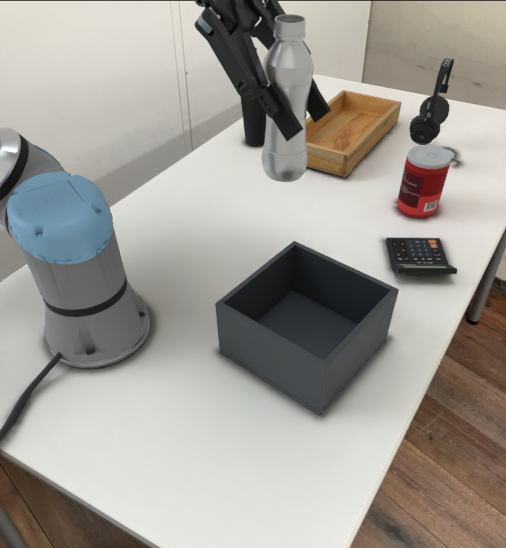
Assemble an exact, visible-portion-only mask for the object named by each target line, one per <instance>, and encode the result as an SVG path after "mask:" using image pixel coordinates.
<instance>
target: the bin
mask: <svg viewBox="0 0 506 548" xmlns="http://www.w3.org/2000/svg"><path fill="white" fill-rule="evenodd" d="M399 292H400V289H399V288H398V287H395V286H393V285H391V284H389V283H387V282H385V281H383V280H380V279H378V278H376V277H373V276H372V275H369V274H367V273H365V272H362V271H361V270H359V269H356V268H354V267H352V266H350V265H348V264H345V263H344V262H341V261H339V260H337V259H335V258H333V257H330V256H328V255H326V254H324V253H322V252H320V251H317V250H315V249H312V248H311V247H309V246H306V245H304V244H302V243H300V242H298V241H296V240H293V241H292V242H290V243H289V244H288V245H286V246H285V247H284V248H283V249H282V250H280V251H279V252H278V253H277V254H275V255H274V256H273V257H272V258H270V259H269V260H268V261H267V262H265V263H264V264H263V265H261V266H260V267H259V268H257V269H256V270H255V271H254V272H253V273H251V274H250V275H249V276H247V277H246V278H245V279H244V280H243V281H241V282H240V283H239V284H237V286H235V287H234V288H232V289H231V290H230V291H228V293H226V294H225V295H224V296H222V297H221V298H219V300H217V301H216V302H215V303H214V306H215V307H214V308H215V318H216V328H217V335H218V336H217V337H218V338H217V339H218V348H219V353H220V354H222V355H223V356H225V357H227V358H228V359H230V360H231V361H233V362H235V363H236V364H237V365H239V366H241V367H243V369H245V370H247V371H248V372H251V373H252V374H253V375H255V376H257V377H258V378H260V379H261V380H263V381H265V382H266V383H267V384H269V385H271V386H272V387H274V388H276V389H277V390H279V391H280V392H282V393H284V394H285V395H287V397H289V398H290V399H292V400H295V401H296V402H298V403H299V404H301V405H302V406H304V407H306V408H307V409H309V410H310V411H312V412H313V413H315V414H316V415H318V416H320V415H321V414H322V413H323V412H324V410H326V408H327V407H328V406H329V405H330V404H331V402H333V400H335V398H336V397H337V396H338V394H340V392H341V391H342V390H343V389H344V388H345V387H346V386H347V384H348V383H349V382H350V381H352V379H353V378H354V376H355V375H357V373H358V372H359V371H360V369H361V368H362V367H363V366H364V365H365V364H366V363H367V361H368V360H369V359H370V358H371V357H372V356H373V355H374V353H375V352H376V351H377V350H378V349H379V348H380V346H382V344H383V343H384V342H385V341H386V340H387V338H388V333H389V330H390V326H391V323H392V318H393V316H394V312H395V307H396V302H397V298H398V295H399Z"/></svg>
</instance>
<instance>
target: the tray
mask: <svg viewBox="0 0 506 548" xmlns="http://www.w3.org/2000/svg"><path fill="white" fill-rule="evenodd" d="M327 104H328V106H329V107H330V109H331V111H330V112H329V113H327V114H326V115H325V116H324V117H322V118H321V119H320V120H318V121H317V122H316V123H314V121H313V119H312V118H311V116H310V115H309V117H307V118H306V145H307V152H308V163H307V167H306V168H309V169H313V170H317V171H321V172H325V173H329V174H331V175H336V176H339V177H343V178H346V177H348V175H349V174H350V173H351V172H352V171H353V170H354V169H355V168H356V166H357V165H359V163H361V161H362V160H363V159H364V158H365V157H366V156H367V155H368V154H369V153H370V152H371V150H373V149H374V148H375V146H377V144H378V143H380V141H381V140H382V139H383V138H384V137H385V136H386V135H387V134H388V133H389V132H390V131H391V130H392V129H393V127H395V126H396V125H397V124H398V121H399V118H400V113H401V106H402V101H398V100H393V99H390V98H384V97H380V96H375V95H369V94H364V93H360V92H356V91H351V90H345V89H342V90H340V91H339V92H338V93H337V94H336V95H335V96H333V97H332V98H331V99H330V100H329V101H327Z"/></svg>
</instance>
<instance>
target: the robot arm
mask: <svg viewBox="0 0 506 548" xmlns="http://www.w3.org/2000/svg"><path fill="white" fill-rule="evenodd" d="M193 1H194V3H195V4H196V5H197V6H198V7H200V8H204V9H203V10H202V12H201V13H200V14H199V16H198V18H196V20H195V22H194V28H195V29H196V31H197V32H198V33H199V34H200V35H201V36H202V37H203V38H204V40H206V41H207V43H208V44H209V45H208V46H209V47H210V48H211V50H212V51H213V54H214V55H215V57H216V58H217V61H218V62H219V64H220V65H221V67H222V68H223V71H224V72H225V74H226V76H227V77H228V79H229V81H230V82H231V84H232V86H233V88H234V89H235V91H236V93H237V95H239V97H240V96H241V97H244V96H245V95H247V96H246V97H247V98H248V99H249V100H253V99H254V98H255V97H256V98H257V100H258V101H259V103H260V104H261V106H262V107H263V109H264V111H265V112H266V114H267V115H268V116H269V117H270V118H272V119H273V121H274V122H275V124H276V126H277V127H278V129H279V130H280V132H281V133H282V135H283V137H284V138H285V140H286V141H289V140H290V139H292V138H293V137H294V136H295V135H297V134H298V133H299V132H300V131H302V130H303V127H302V126H301V124H300V122H299V121H298V119H297V118H296V116H295V114H294V113H293V111H292V110H291V108H290V106H289V105H288V103H287V102H286V100H285V98H284V97H283V95H282V94H281V92H280V90H279V89H278V87H277V86H276V84H275V83H274V82H273V83H272V84H270V85H269V86H267V85H268V80H267V77H266V75H265V72H264V70H263V67H262V65H263V63H262V62H261V59H260V56H259V53H258V50H257V51H256V49H255V46H256V45H255V43H254V41H253V38H256V39H257V40H258V41H259V42H260V43H261V44H262V45H263V47H264V48H266V50H267V52H268V51H269V49H270V48H271V46H272V45H273V43H274V42H275V39H276V38H275V37H274V36H273V31H274V24H275V17H277V16H279V15H285V14H287V13H286V12H285V10H284V9H283V7H282V6H281V4H280V2H279V0H193ZM303 43H304V44H305V46H306V48H307V50H308V51H309V53H310V56H311V57H312V52H311V49H310V48H309V47H308V46H307V44H306V42H305V40H303ZM256 78H257V79H256ZM242 80H245V81H244V82H242ZM241 97H240V98H241ZM325 99H326V98H325V97H324V96H323V94H322V92H321V90H320V89H319V87H318V84H317V82H316V80H315V79H314V77H312V83H311V88H310V93H309V98H308V106H307V113H308V114H309V117H310V116H311V118H312V119H313V121H314V123H316V122H317V121H318V120H320V119H321V118H322V117H324V116H325V115H326V114H327V113H329V112H330V111H331V109H330V107H329V106H328V104H327V103H328V101H327V100H325ZM61 164H62V163H60V161H59V160H57V158H56V157H55V156H54V155H52V154H51V153H50V152H49V151H48V150H46V149H44V148H42V147H40V146H39V145H37V144H34V143H32V142H30V141H29V140H28V139H27V138H26V137H24V136H22V134H20V133H19V132H17V130H15V129H13V128H12V127H7V126H5V127H0V225H1V226H2V227H3V228H4V229H5V230H6V232H7V234H8V235H9V237H10V239H11V240H12V241H13V243H14V245H15V246H16V248H17V250H18V252H20V254H21V255H22V257H23V259H24V261H25V263H26V265H27V267H28V269H29V270H30V273H31V275H32V278H33V280H34V282H35V285H36V287H37V289H38V291H39V295H40V296H41V298H42V300H43V303H44V335H45V341H46V343H47V346H48V348H49V350H50V352H51V353H52V355H53V357H52V359H51V360H49V362H48V363H47V365H46V366H44V368H43V369H42V370H41V371H40V372H39V373H38V375H36V377H34V379H33V380H32V381H31V382H30V383H29V385H28V386H27V387H26V388H25V390H24V391H23V392H22V394H21V396H20V397H19V398H18V400H17V402H16V403H15V405H14V407H13V408H12V410H11V411H10V414H9V416H8V417H7V418H6V420H5V422H4V424H3V425H2V427H1V428H0V442H1V441H2V440H3V438H4V437H5V436H6V435H7V433H8V432H9V430H10V429H11V427H12V426H13V425H14V423H15V421H16V419H17V417H18V416H19V413H20V411H21V410H22V408H23V407H24V405H25V403H26V401H27V400H28V399H29V397H30V395H31V394H32V393H33V392H34V390H35V389H36V388H37V387H38V386H39V385H40V384H41V382H42V381H43V380H44V379H45V378H46V377H47V375H49V373H50V372H51V371H52V370H53V368H54V367H55V366H56V365H57V364H58V363H59V361H60V362H61V363H62V364H65V365H68V366H70V367H73V368H74V367H75V368H79V369H96V368H97V369H98V368H103V367H108V366H111V365H113V364H116V363H119V362H121V361H123V360H125V359H127V358H128V357H131V355H133V354H134V353H135V352H137V351H138V350H139V349H140V348H141V347H142V345H144V343H145V341H146V339H147V338H148V336H149V333H150V329H151V320H150V314H149V311H148V309H147V308H148V307H147V306H146V305H145V304H146V303H145V301H144V299H143V298H142V297H141V296H140V294H139V293H138V292H137V291H136V290H135V289H134V288H133V286H132V285H131V283H130V282H129V281H128V278H127V275H126V270H125V266H124V262H123V258H122V255H121V251H120V248H119V243H118V238H117V235H116V231H115V227H114V218H113V214H112V210H111V208H110V206H109V203H108V201H107V200H106V197H105V194H104V193H103V191H102V190H101V188H100V187H99V186H98V185H97V184H96V183H95V182H93V181H92V180H90V179H89V178H87V177H85V176H83V175H80V174H74V175H72V174H71V173H70V172H67V171H66V170H65V168H64V167H63V166H62V165H61Z"/></svg>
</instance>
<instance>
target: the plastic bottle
mask: <svg viewBox="0 0 506 548" xmlns="http://www.w3.org/2000/svg"><path fill="white" fill-rule="evenodd" d="M306 22H307V21H306V17H305V16H302V15H299V14H295V13H294V14H291V13H286V14H285V15H279V16H277V17H275V24H274V31H273V36H274V37H275V38H276V39H275V42H274V43H273V45H272V46H271V48H270V49H269V51H268V50H267V52H266V54H265V56H264V58H263V61H262V67H263V70H264V72H265V75H266V77H267V80H268V85H267V86H269V85H270V84H272V83H273V82H274V83H275V84H276V86H277V87H278V89H279V90H280V92H281V94H282V95H283V97H284V98H285V100H286V102H287V103H288V105H289V106H290V108H291V110H292V111H293V113H294V114H295V116H296V118H297V119H298V121H299V122H300V124H301V126H302V127H303V130H302V131H300V132H299V133H298V134H297V135H295V136H294V137H293V138H292V139H290V140H289V141H286V140H285V138H284V137H283V135H282V133H281V132H280V130H279V129H278V127H277V126H276V124H275V122H274V121H273V119H272V118H270V117H269V116H268V115H267V114H266V132H265V143H264V145H263V146H262V152H261V164H262V170H263V171H264V174H265V175H266V176H267V177H268V178H269V179H271V180H272V181H275V182H279V183H280V182H281V183H292V182H295V181H298V180H300V179H301V178H303V176H304V174H305V173H306V170H307V168H308V167H307V163H308V152H307V145H306V119H307V113H308V111H307V106H308V98H309V93H310V88H311V83H312V78H314V71H315V68H314V67H315V66H314V62H313V58H312V55H311V56H310V53H309V51H308V50H307V48H306V46H305V44H306V43H305V44H304V43H303V41H304V39H305V38H306V37H307V36H306V35H307V32H306V24H307V23H306Z"/></svg>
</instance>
